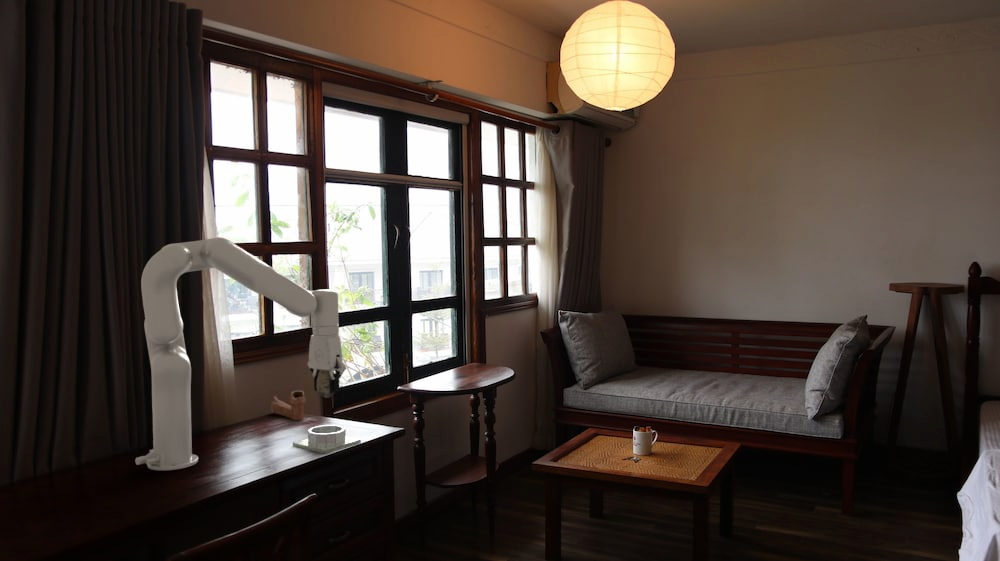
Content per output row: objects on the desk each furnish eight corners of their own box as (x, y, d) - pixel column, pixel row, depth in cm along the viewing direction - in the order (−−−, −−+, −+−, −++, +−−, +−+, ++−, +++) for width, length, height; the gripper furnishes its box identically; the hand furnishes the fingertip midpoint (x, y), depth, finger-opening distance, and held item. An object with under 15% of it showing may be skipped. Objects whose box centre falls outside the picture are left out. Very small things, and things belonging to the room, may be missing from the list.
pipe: (295, 423, 240) (295, 393, 240) (267, 414, 252) (267, 386, 252) (308, 420, 244) (308, 391, 243) (280, 412, 256) (279, 384, 256)
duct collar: (325, 453, 204) (325, 438, 204) (292, 446, 212) (292, 431, 212) (360, 442, 216) (360, 427, 216) (328, 435, 224) (328, 421, 224)
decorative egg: (341, 397, 214) (340, 364, 213) (323, 400, 209) (323, 366, 209) (330, 394, 218) (329, 361, 217) (312, 397, 214) (312, 364, 213)
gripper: (296, 330, 214) (297, 390, 215) (336, 334, 205) (337, 396, 206) (315, 328, 220) (316, 385, 221) (355, 331, 211) (356, 392, 212)
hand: (326, 390), depth 213 cm, fingers closed on decorative egg, 6 cm apart
